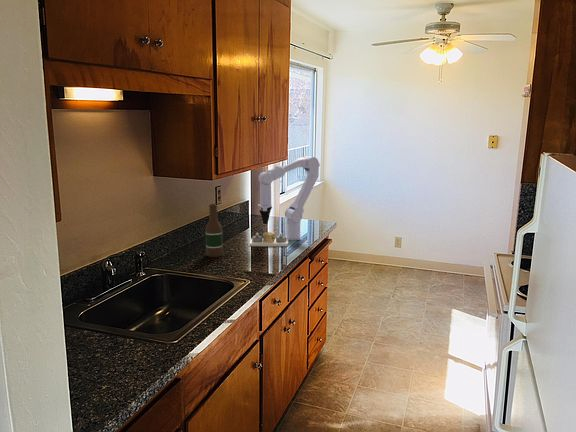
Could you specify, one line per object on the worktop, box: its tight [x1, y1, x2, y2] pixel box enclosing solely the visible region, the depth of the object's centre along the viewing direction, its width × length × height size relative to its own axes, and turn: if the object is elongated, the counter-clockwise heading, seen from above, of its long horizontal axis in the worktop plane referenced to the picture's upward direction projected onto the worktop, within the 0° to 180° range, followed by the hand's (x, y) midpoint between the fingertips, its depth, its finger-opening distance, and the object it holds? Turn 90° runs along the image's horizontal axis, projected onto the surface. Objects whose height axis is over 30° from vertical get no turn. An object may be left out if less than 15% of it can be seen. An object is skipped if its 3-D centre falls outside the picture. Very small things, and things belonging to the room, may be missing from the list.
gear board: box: [249, 232, 289, 247], centre depth 243 cm, size 9×19×6 cm, turn 88°
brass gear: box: [262, 231, 276, 242], centre depth 243 cm, size 6×6×4 cm
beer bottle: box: [204, 203, 224, 258], centre depth 222 cm, size 8×8×24 cm
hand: (265, 222), depth 247 cm, fingers open, 7 cm apart
